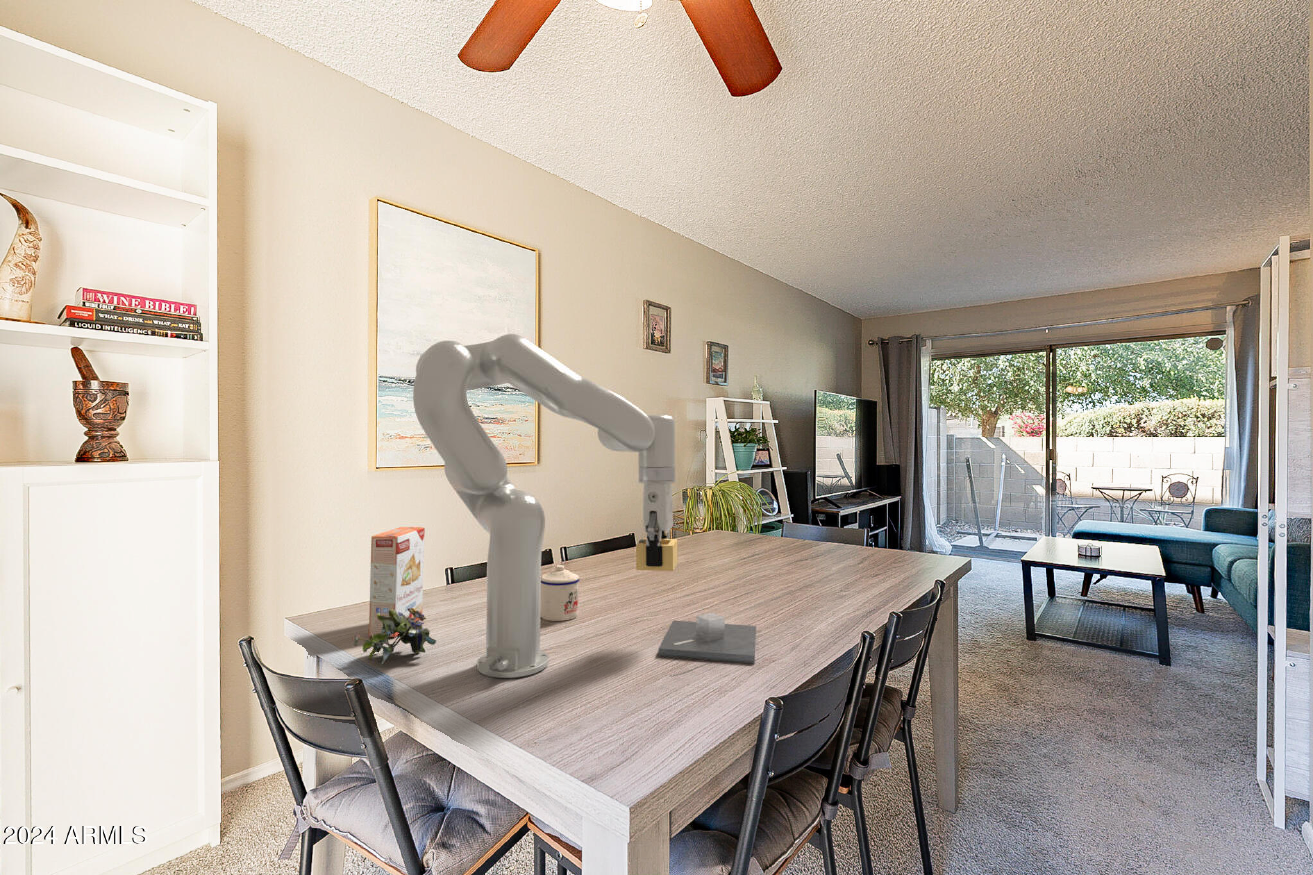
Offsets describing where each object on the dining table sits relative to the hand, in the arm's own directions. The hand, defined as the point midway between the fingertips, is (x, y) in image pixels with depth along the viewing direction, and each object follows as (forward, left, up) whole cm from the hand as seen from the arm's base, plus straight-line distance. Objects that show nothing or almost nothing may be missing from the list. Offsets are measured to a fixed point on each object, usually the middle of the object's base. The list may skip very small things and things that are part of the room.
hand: (657, 561), depth 123 cm
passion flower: (-21, +45, -17) cm, 52 cm away
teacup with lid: (+13, +25, -17) cm, 33 cm away
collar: (0, 0, -1) cm, 1 cm away
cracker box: (-4, +56, -17) cm, 59 cm away
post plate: (0, -11, -16) cm, 20 cm away
